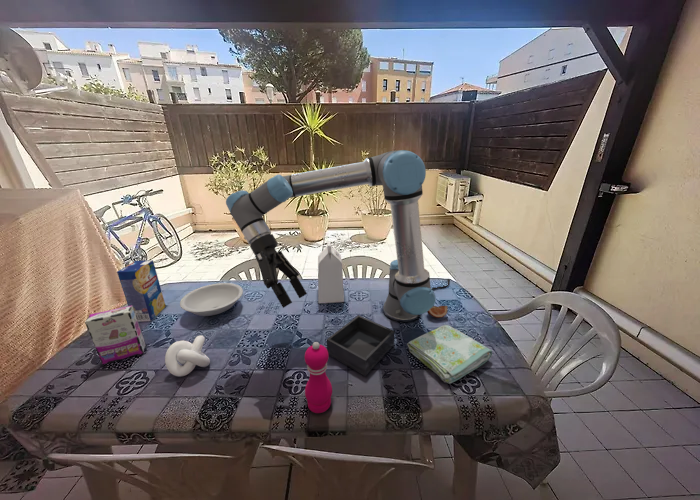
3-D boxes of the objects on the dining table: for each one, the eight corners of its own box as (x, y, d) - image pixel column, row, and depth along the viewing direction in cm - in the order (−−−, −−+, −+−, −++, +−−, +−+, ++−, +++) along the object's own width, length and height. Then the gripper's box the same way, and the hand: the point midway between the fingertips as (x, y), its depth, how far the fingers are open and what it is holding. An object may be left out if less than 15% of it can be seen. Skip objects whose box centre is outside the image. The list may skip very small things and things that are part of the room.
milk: (318, 290, 132) (315, 239, 123) (341, 289, 133) (341, 238, 124) (318, 303, 121) (315, 248, 112) (344, 301, 122) (343, 247, 113)
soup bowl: (251, 313, 114) (249, 299, 111) (186, 333, 101) (182, 318, 99) (237, 290, 132) (235, 278, 130) (181, 305, 120) (177, 292, 117)
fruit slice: (443, 311, 114) (444, 301, 113) (449, 321, 108) (451, 310, 106) (423, 312, 114) (424, 302, 112) (428, 321, 108) (430, 311, 106)
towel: (404, 350, 92) (405, 338, 90) (447, 330, 102) (449, 319, 100) (446, 389, 77) (449, 375, 76) (492, 361, 87) (495, 348, 86)
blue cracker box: (165, 306, 119) (153, 260, 111) (151, 320, 109) (136, 271, 101) (149, 307, 118) (135, 260, 111) (133, 322, 108) (116, 272, 100)
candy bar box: (146, 344, 95) (133, 304, 90) (143, 353, 91) (130, 312, 86) (105, 355, 91) (89, 313, 85) (101, 365, 86) (83, 321, 81)
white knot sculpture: (183, 353, 91) (177, 331, 88) (220, 351, 92) (215, 329, 89) (164, 379, 81) (156, 355, 78) (205, 377, 81) (199, 353, 78)
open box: (358, 328, 104) (358, 315, 102) (394, 345, 95) (394, 330, 93) (327, 354, 91) (326, 339, 89) (365, 376, 82) (365, 360, 80)
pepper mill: (328, 417, 69) (325, 355, 62) (301, 412, 71) (296, 350, 64) (335, 394, 76) (333, 335, 69) (311, 389, 77) (306, 331, 70)
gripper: (268, 245, 94) (299, 298, 93) (226, 245, 70) (267, 317, 68) (286, 234, 93) (317, 287, 92) (249, 230, 69) (291, 302, 67)
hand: (296, 300), depth 80 cm, fingers open, 13 cm apart
